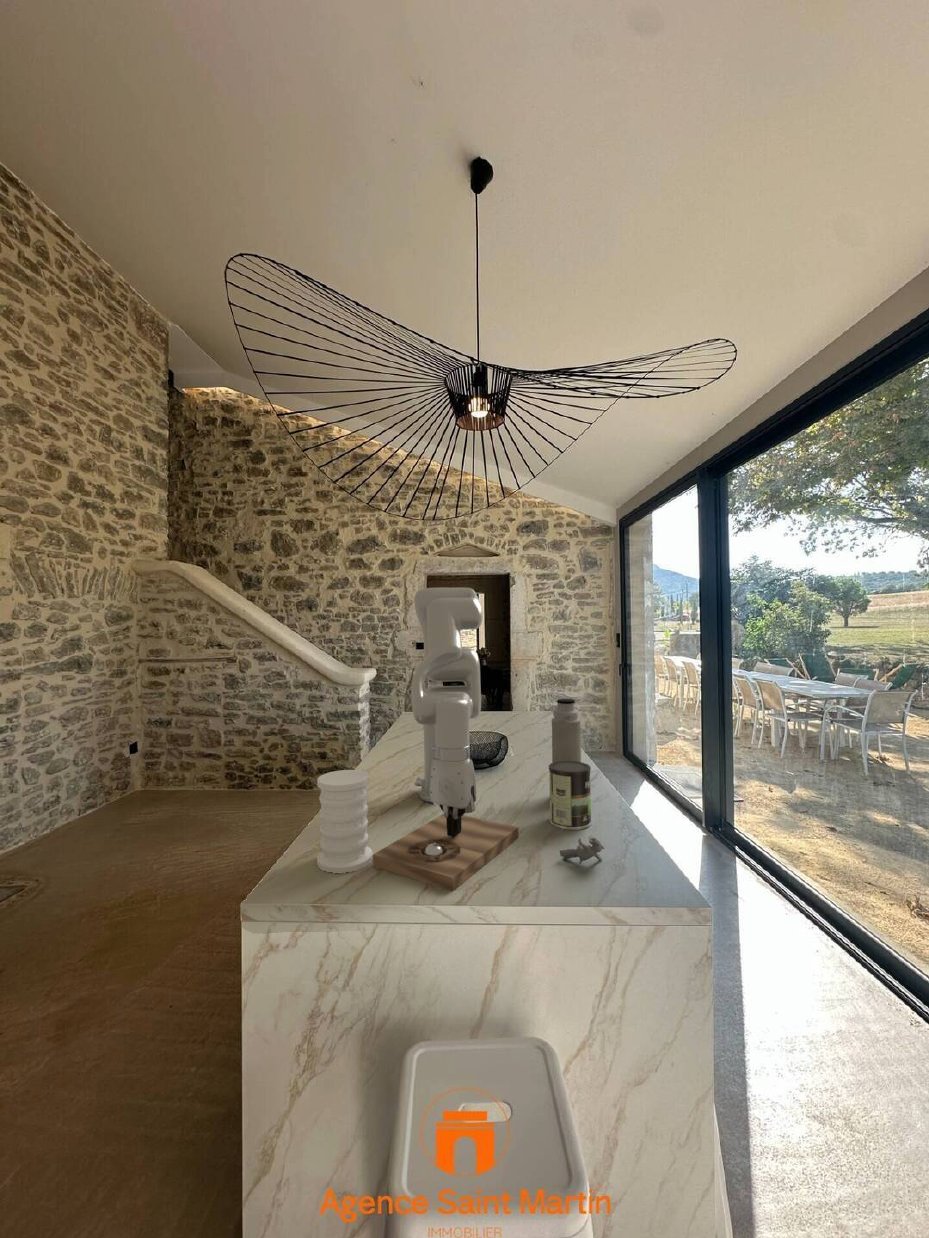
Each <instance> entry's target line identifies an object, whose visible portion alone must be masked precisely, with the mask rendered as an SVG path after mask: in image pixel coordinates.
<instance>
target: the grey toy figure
mask: <svg viewBox="0 0 929 1238" xmlns="http://www.w3.org/2000/svg"><path fill="white" fill-rule="evenodd" d="M588 842H589V844H585V843H583V841H582V838H581V837H579V838H578V839H577V843H578V844H577V846H576V848H567V849H559V855H560V857H562V858H563V859H564V860H565V861H566V860H569V859H573V858H574V859H575V858H579V863H578V865H577V866H576V868H579V866H580V865H581V864H582V862H584V861H585V862H586V861H587V860H590V859H591V858H593V857H595V858H596V859H597V860H598V861H599V862H602V861H603V859H602V858H603V857H601V855H600V852H601V851H602V850H605V846H604V845H602V844H601V841H600V840H598V838H597V837H592V835H590V836H589V837H588ZM590 844H591V845H590Z"/></svg>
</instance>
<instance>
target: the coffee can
mask: <svg viewBox="0 0 929 1238" xmlns="http://www.w3.org/2000/svg"><path fill="white" fill-rule="evenodd" d="M548 771H549V773H548V774H549V823H550V824H551V825H552V826H554V827H555V828H559V829H563V830H568V831H569V830H570V831H580V830H584V829H587V828H589V827H590V826H592V816H591V815H592V810H591V807H592V806H591V804H592V803H591V800H592V799H591V766H590V764H589V763H588V764H587V763H585V762H582V761H581V762H577V761H558V762H554V763H552V762H551V763H549V765H548Z"/></svg>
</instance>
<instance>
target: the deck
mask: <svg viewBox="0 0 929 1238" xmlns="http://www.w3.org/2000/svg"><path fill="white" fill-rule="evenodd" d="M461 827H462V829H461V833H459V834H458V835H456V836H455V837H452V836H448V835H447V822H446V817H445V816H444V813H443V814H441V815H439V816H438V817H435V818H434V819H432V820H430V821H428V822H427V823H425V824H423V825H421V826H419V827H418V828H416V829H414V830H412V831H411V832H409V833H408V834H406V835H404V836H402V837H400V838H398V839H397V840H395V841H394V842H392V843H390V844H389V845H387V846H385V847H384V848H381V849H379V850H378V851H376V852H375V853H372V867H374V868H377V869H380V870H384V871H387V872H390V873H394V874H397V875H399V876H402V877H403V876H404V877H406V878H409V879H412V880H416V881H419V882H423V883H426V884H430V885H431V886H436V887H439V888H441V889H445V890H448V891H451V892H453V891H455V890H456V889H457V888H459V887H460V886H462V884H463V883H465V882H467V880H469V879H470V878H471V877H472V876H473V875H475V874H476V873H478V871H480V869H481V870H482V868H483V867H484V866H486V865H487V864H489V863H490V862H491V861H492V860H493V859H494V858H496V856H498V855H499V854H501V853H502V852H503V851H504V850H506V848H508V847H509V846H511V844H513V843H514V842H516V841H517V839H519V827H518V826H514V825H512V824H511V825H510V824H506V823H505V824H504V823H501V822H497V821H491V820H487V819H482V818H478V817H473V816H469V815H465V814H464V815H463V816H461ZM432 843H436V844H438V845H440V846H441V848H442V850H443V855H440V856H426V855H424V851H425V849H426V847H427V846H428V845H429V844H432Z"/></svg>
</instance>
